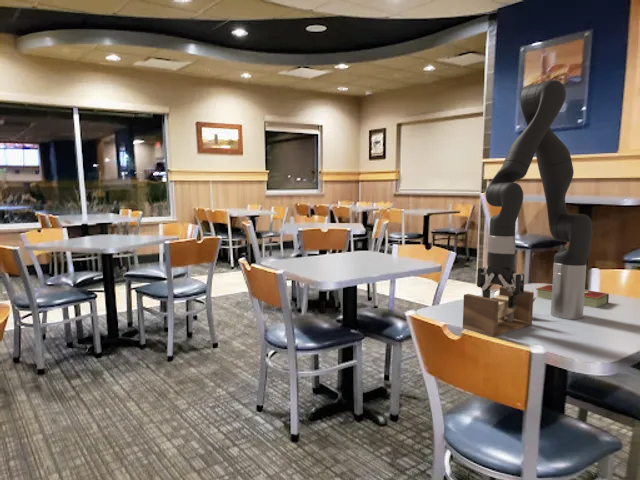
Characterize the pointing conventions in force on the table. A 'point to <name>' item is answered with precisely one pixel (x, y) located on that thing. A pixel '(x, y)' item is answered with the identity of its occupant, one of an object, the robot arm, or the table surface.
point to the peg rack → (496, 314)
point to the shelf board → (503, 306)
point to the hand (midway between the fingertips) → (498, 305)
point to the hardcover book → (590, 297)
